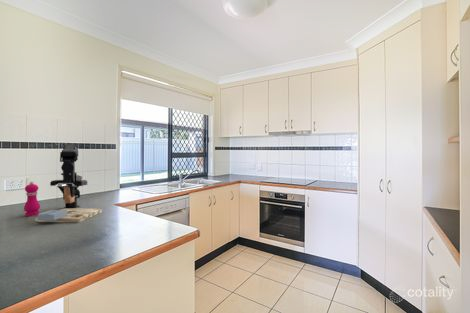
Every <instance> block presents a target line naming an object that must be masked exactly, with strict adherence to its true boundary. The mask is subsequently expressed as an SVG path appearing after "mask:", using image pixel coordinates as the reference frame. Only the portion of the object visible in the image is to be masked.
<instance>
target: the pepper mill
mask: <svg viewBox="0 0 470 313" xmlns="http://www.w3.org/2000/svg"><path fill="white" fill-rule="evenodd" d="M24 191H25V192H26V195H25V196H26V198H27V199H26V202H25V203H24V207H23V211H24V212H25V213H24V216H25V217H34V216H37V214H40V210H41V204H40V202H39V200H38V198H37V195H38V191H39V186H38V185H37V184H35V183H34V181H30V182H29V184H27V185H25V187H24Z"/></svg>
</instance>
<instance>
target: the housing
mask: <svg viewBox="0 0 470 313" xmlns="http://www.w3.org/2000/svg"><path fill="white" fill-rule="evenodd" d="M36 216H37V217H36V218H38V220H56V219H59V218H62V217H64V216H67V210H61V209H50V210H47V211H44V212H41V213H40V212H39V214H37V215H36Z"/></svg>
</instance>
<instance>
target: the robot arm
mask: <svg viewBox="0 0 470 313" xmlns="http://www.w3.org/2000/svg"><path fill="white" fill-rule="evenodd" d="M59 154H60V155H59V162H60V163H62V165H61V166H60V168H61V170H62V173H60V175H61V176H62V179H53V180H51V181H50V184H49V186H51V187H53V186H55V187H56V188H58V189H59V191H61V193H62V199H63V201H64V188H65V187H70V193H71V197H74V199H75V202H72V203H64V204H65V205H64V207H63V209H64V208H67V209H77V208H78V207H80V205H78V199H80V198H81V191H80V189H78V188H79V187H82V186H87V185H88V180H87V179H83V176H82V175H79V174H78V173H77V172H76V171H75V170H76V167H75V166H76V164H75V163H76V162H77V161H78V157H79V148H78V147H77V146H76V145H75V144H73V143H69V144H68V143H67V144H65V146H64V147H63V148H62V150H61V151H60V152H59Z"/></svg>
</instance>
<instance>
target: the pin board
mask: <svg viewBox="0 0 470 313" xmlns="http://www.w3.org/2000/svg"><path fill="white" fill-rule="evenodd" d="M60 210H67V216H64V217H62V218H59V219H56V220H38V218H37V217H35V218H34V219H35V220H34V222H36V223H37V222H38V223H39V222H40V223H80V222H83V221H85V220H87V219H90V218H91V217H94V216H96V215H98V213H99V214H101V213H102V211H103V210H102V208H72V209H71V208H64V207H63V208H61V209H60Z"/></svg>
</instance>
